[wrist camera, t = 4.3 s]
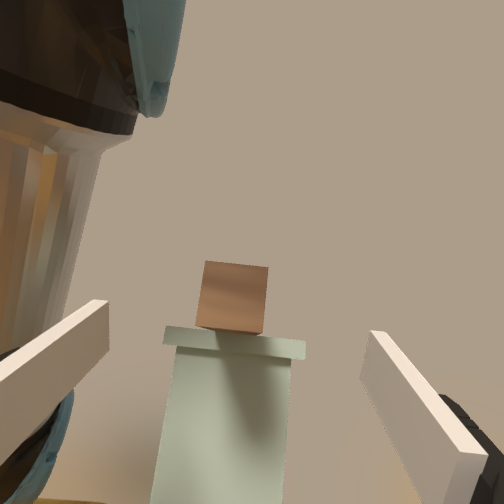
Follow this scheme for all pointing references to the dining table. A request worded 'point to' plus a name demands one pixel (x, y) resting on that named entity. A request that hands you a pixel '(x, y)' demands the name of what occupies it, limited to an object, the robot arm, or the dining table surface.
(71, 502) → the dining table surface
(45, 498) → the dining table surface
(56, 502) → the dining table surface
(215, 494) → the stand
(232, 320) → the walnut bar
